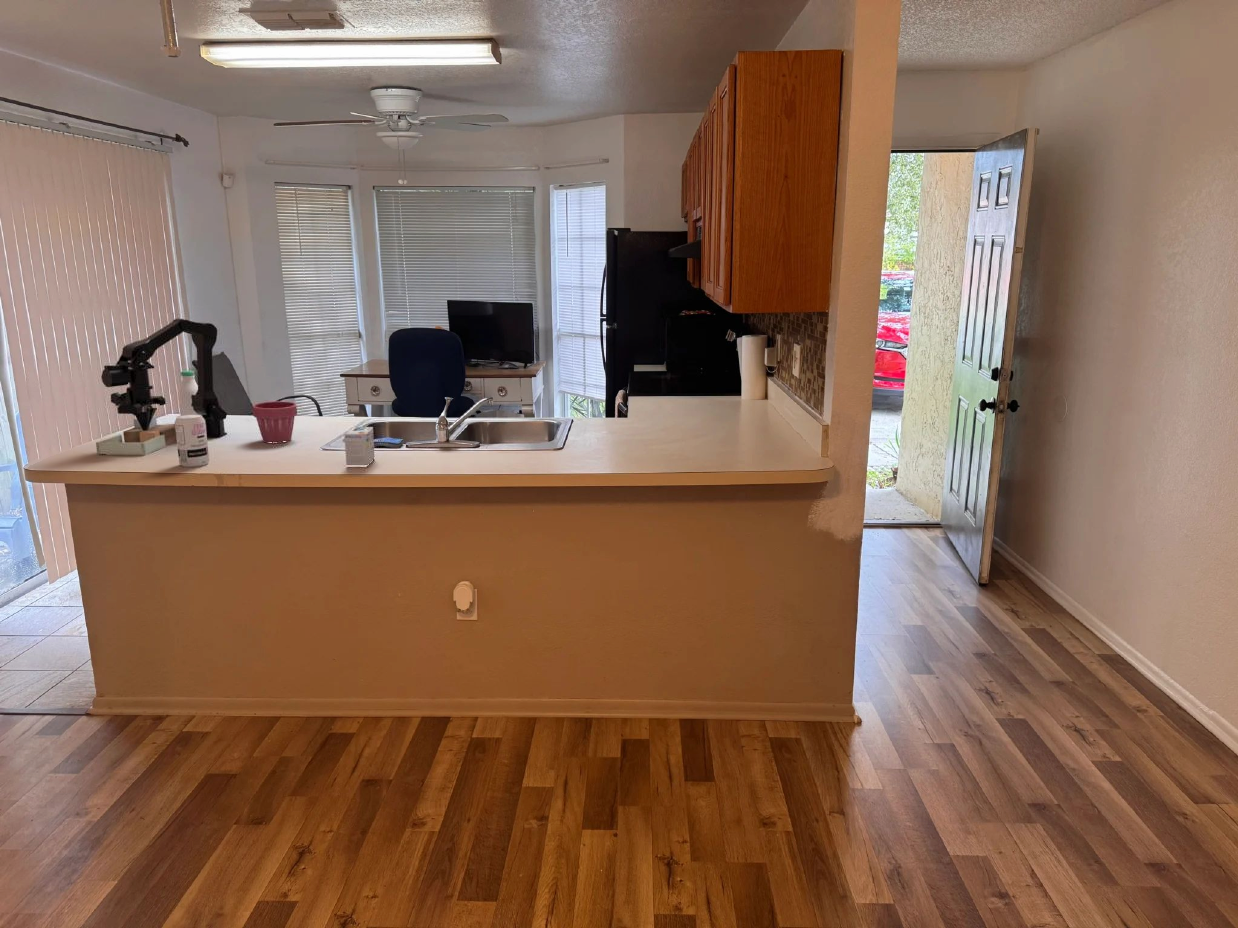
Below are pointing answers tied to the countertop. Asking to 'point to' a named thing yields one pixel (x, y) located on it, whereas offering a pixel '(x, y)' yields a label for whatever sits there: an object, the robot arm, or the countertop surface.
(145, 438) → the peach square prism
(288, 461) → the countertop surface
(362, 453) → the light bulb box
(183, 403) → the milk bottle
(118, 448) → the sage tray
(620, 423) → the countertop surface
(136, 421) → the pale grey squat block
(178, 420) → the supplement can
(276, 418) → the plant pot
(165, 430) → the walnut block
